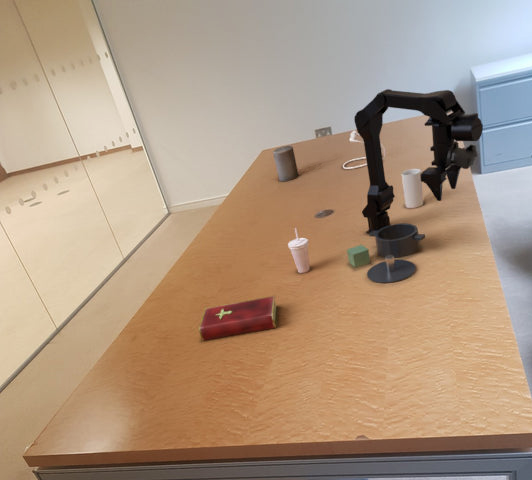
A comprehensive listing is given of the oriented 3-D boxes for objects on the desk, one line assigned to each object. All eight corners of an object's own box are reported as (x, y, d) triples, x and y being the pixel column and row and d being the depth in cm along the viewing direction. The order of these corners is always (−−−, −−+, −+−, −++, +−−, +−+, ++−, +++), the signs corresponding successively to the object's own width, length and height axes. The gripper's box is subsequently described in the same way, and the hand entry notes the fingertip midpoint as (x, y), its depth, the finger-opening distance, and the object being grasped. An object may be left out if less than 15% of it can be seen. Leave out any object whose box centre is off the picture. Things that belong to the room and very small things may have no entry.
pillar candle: (302, 173, 270) (296, 142, 263) (292, 181, 264) (285, 148, 256) (285, 174, 276) (278, 143, 268) (275, 182, 270) (268, 150, 262)
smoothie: (316, 264, 180) (307, 223, 173) (310, 274, 175) (302, 232, 168) (297, 266, 182) (288, 225, 175) (291, 275, 178) (282, 234, 170)
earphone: (388, 153, 251) (353, 133, 248) (367, 185, 260) (334, 166, 258) (387, 145, 262) (354, 126, 259) (368, 176, 271) (336, 158, 269)
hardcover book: (276, 328, 152) (272, 315, 150) (202, 341, 156) (198, 328, 154) (278, 307, 162) (274, 294, 160) (208, 319, 166) (204, 307, 164)
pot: (414, 263, 165) (412, 242, 161) (362, 257, 177) (359, 238, 173) (434, 244, 172) (433, 225, 168) (384, 240, 183) (381, 221, 180)
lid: (400, 288, 154) (398, 270, 151) (358, 281, 163) (355, 265, 161) (424, 265, 162) (423, 248, 159) (383, 260, 171) (381, 244, 168)
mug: (423, 207, 199) (420, 173, 193) (403, 209, 202) (400, 176, 195) (425, 197, 206) (423, 164, 200) (407, 199, 209) (403, 167, 203)
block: (349, 264, 175) (346, 249, 172) (364, 259, 175) (361, 244, 172) (355, 269, 170) (353, 254, 168) (370, 264, 171) (368, 249, 168)
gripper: (456, 151, 147) (458, 208, 155) (485, 128, 157) (486, 183, 165) (417, 152, 154) (421, 206, 162) (448, 130, 164) (450, 182, 172)
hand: (446, 194), depth 165 cm, fingers open, 9 cm apart
